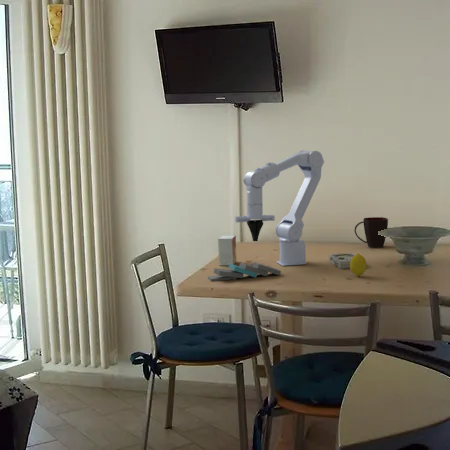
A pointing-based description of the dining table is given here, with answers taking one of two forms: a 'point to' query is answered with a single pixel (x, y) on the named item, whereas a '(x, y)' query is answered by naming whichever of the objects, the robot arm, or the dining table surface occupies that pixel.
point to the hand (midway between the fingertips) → (255, 240)
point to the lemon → (358, 265)
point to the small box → (227, 250)
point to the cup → (374, 231)
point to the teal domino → (242, 270)
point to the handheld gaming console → (341, 260)
